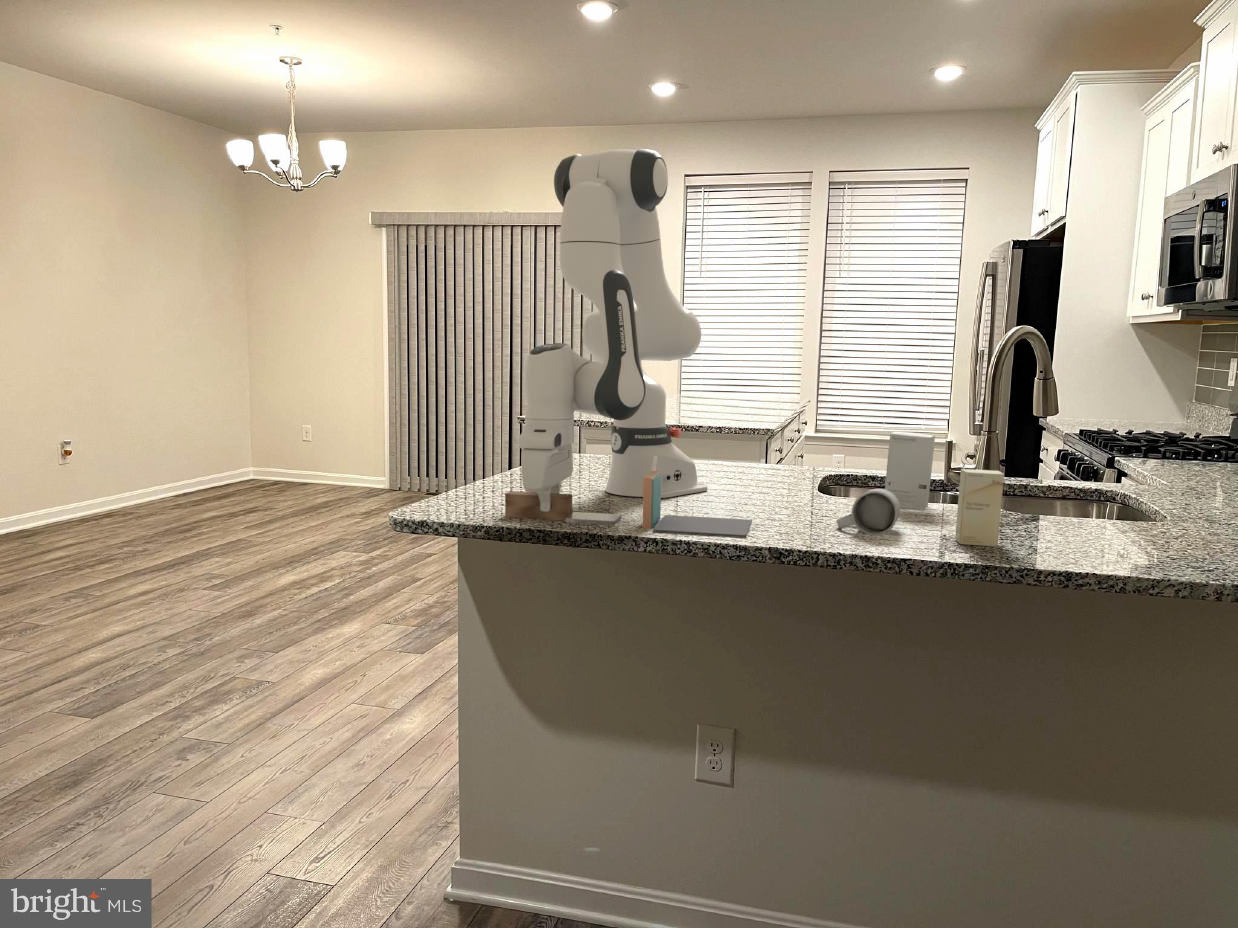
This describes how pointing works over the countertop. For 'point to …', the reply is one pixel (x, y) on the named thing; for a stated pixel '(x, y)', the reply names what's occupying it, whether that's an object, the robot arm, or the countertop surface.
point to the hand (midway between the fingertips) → (549, 508)
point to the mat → (703, 526)
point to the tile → (651, 499)
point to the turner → (561, 509)
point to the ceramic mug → (873, 512)
